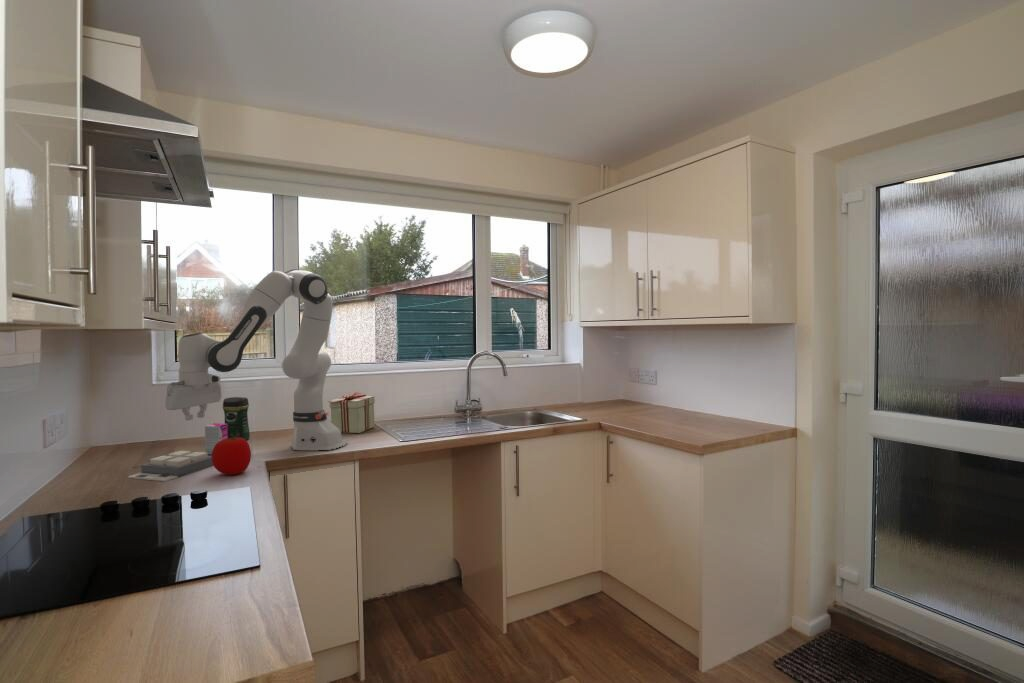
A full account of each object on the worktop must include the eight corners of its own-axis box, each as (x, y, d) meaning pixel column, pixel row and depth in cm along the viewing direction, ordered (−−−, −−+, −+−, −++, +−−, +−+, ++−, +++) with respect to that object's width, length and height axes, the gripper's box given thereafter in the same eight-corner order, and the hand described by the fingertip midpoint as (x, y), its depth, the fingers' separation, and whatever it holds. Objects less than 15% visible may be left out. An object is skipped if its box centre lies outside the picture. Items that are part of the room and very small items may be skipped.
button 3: (192, 458, 187) (191, 451, 187) (179, 461, 182) (179, 455, 182) (180, 457, 188) (180, 450, 188) (168, 460, 184) (168, 454, 184)
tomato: (260, 470, 179) (259, 434, 178) (231, 480, 168) (230, 441, 167) (232, 467, 183) (231, 431, 183) (203, 476, 172) (202, 439, 172)
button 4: (207, 459, 185) (207, 452, 185) (196, 463, 181) (195, 456, 180) (196, 458, 187) (196, 451, 187) (184, 462, 182) (184, 455, 182)
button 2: (191, 464, 179) (190, 457, 178) (178, 468, 174) (178, 461, 174) (179, 463, 180) (179, 456, 180) (166, 467, 175) (166, 460, 175)
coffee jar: (253, 438, 228) (251, 396, 227) (242, 442, 220) (240, 398, 219) (232, 437, 229) (230, 395, 228) (220, 442, 221) (219, 398, 220)
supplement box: (219, 456, 198) (218, 426, 198) (204, 455, 199) (203, 426, 198) (228, 452, 204) (227, 423, 204) (214, 451, 205) (213, 422, 204)
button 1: (174, 463, 180) (174, 456, 180) (161, 467, 176) (161, 460, 175) (163, 462, 182) (163, 455, 182) (150, 466, 177) (149, 459, 177)
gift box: (340, 425, 254) (339, 390, 253) (376, 427, 251) (375, 391, 250) (322, 433, 237) (321, 395, 236) (360, 434, 234) (359, 396, 233)
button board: (216, 464, 187) (215, 456, 187) (165, 481, 167) (165, 472, 167) (181, 461, 191) (181, 453, 191) (127, 477, 171) (127, 468, 171)
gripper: (174, 383, 172) (176, 425, 172) (224, 376, 191) (225, 414, 192) (159, 382, 173) (161, 424, 174) (210, 376, 193) (211, 413, 193)
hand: (195, 418), depth 183 cm, fingers open, 3 cm apart
